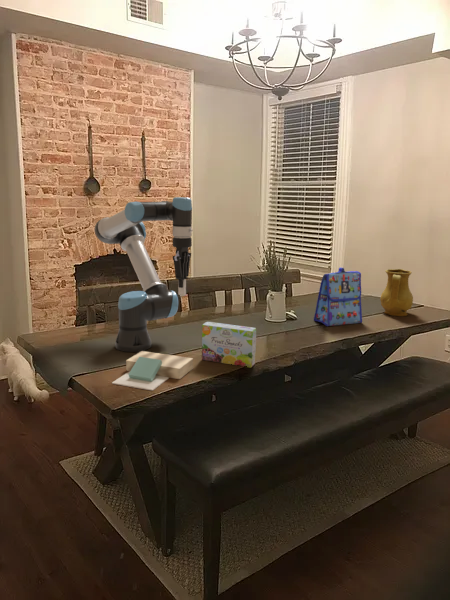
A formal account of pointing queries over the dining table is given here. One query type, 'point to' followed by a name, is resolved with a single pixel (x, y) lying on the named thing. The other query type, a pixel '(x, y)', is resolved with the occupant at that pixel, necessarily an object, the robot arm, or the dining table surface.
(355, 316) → the lunch bag
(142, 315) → the robot arm
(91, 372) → the dining table surface
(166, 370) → the board
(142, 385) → the mat
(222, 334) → the snack box
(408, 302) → the pitcher
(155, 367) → the coaster
